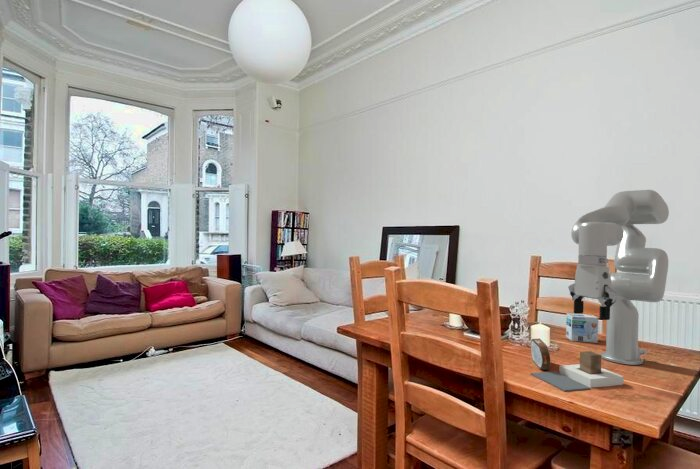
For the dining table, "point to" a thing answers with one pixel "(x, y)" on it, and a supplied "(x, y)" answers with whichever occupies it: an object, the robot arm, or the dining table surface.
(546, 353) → the tin
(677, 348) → the dining table surface
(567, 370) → the holder
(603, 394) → the dining table surface
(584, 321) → the light bulb box
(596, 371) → the block
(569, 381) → the mat
